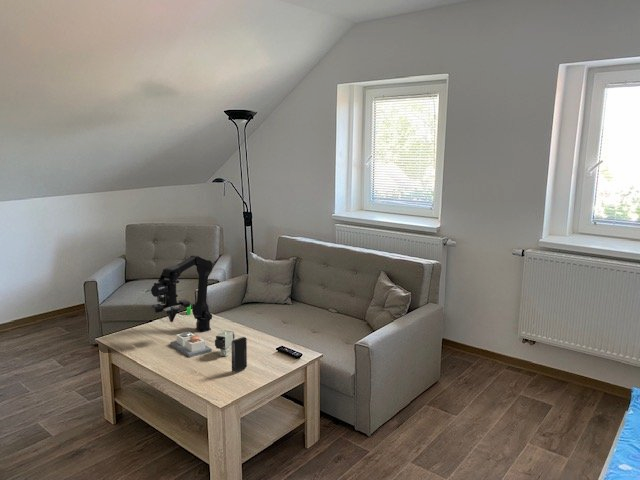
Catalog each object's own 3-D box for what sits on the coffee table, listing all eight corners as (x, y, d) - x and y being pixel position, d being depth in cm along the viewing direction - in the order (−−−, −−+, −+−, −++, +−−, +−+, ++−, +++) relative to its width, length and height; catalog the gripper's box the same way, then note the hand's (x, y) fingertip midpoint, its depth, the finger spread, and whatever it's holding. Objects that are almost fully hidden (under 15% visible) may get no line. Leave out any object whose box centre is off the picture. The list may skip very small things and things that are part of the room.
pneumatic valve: (235, 351, 248) (234, 328, 247) (223, 360, 237) (222, 336, 236) (225, 350, 250) (225, 327, 248) (213, 358, 239) (212, 334, 237)
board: (191, 339, 264) (191, 329, 263) (211, 351, 248) (211, 341, 247) (170, 344, 256) (170, 334, 256) (189, 357, 240) (189, 346, 239)
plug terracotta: (197, 343, 251) (197, 334, 250) (201, 346, 248) (201, 337, 247) (188, 345, 248) (188, 336, 248) (192, 348, 245) (192, 339, 244)
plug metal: (188, 340, 259) (188, 331, 258) (192, 342, 255) (192, 333, 255) (180, 342, 256) (179, 333, 255) (184, 344, 252) (183, 335, 252)
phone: (233, 373, 223) (232, 341, 221) (231, 372, 224) (231, 340, 221) (246, 367, 229) (246, 336, 226) (245, 367, 229) (245, 336, 227)
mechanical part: (197, 318, 302) (196, 305, 301) (187, 318, 301) (186, 305, 300) (198, 312, 314) (198, 300, 313) (188, 312, 313) (188, 300, 312)
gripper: (180, 286, 265) (181, 315, 267) (146, 292, 253) (147, 321, 255) (190, 291, 257) (191, 320, 259) (155, 296, 245) (156, 327, 247)
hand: (171, 322), depth 255 cm, fingers closed
